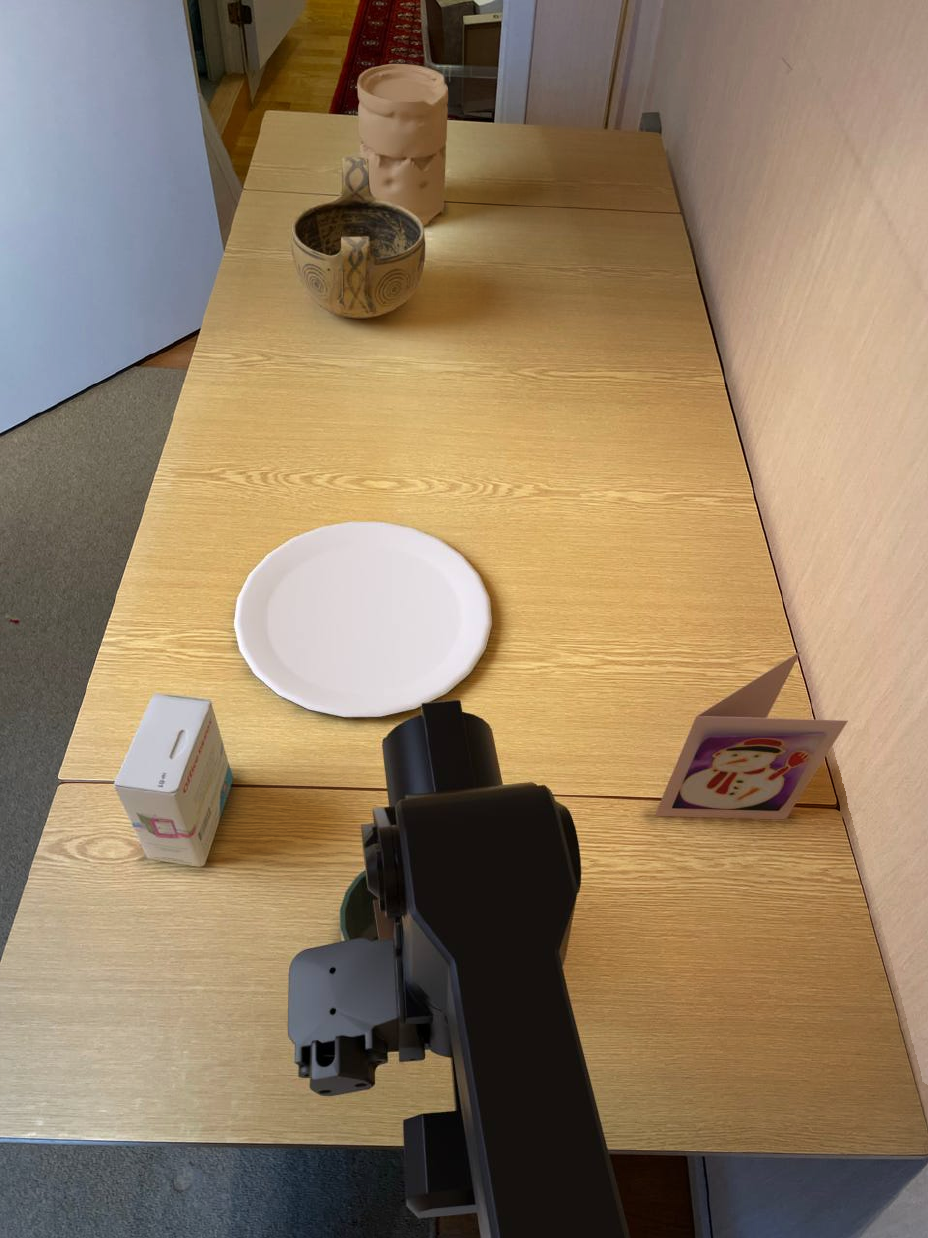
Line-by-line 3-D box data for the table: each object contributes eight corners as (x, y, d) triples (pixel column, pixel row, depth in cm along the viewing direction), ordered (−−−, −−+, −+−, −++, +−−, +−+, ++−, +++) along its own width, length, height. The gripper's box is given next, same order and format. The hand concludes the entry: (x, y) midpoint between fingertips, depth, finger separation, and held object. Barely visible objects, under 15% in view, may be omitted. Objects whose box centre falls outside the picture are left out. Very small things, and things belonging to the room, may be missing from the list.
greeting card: (656, 824, 83) (698, 726, 72) (645, 750, 88) (683, 646, 77) (788, 828, 84) (850, 730, 72) (770, 754, 89) (826, 651, 77)
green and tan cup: (468, 1000, 73) (472, 973, 69) (343, 1010, 72) (340, 983, 68) (457, 884, 79) (460, 853, 75) (342, 892, 78) (339, 860, 74)
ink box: (177, 769, 84) (151, 688, 75) (234, 778, 84) (215, 697, 75) (143, 860, 79) (110, 784, 70) (204, 869, 79) (179, 794, 69)
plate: (283, 761, 85) (282, 753, 84) (204, 566, 99) (202, 558, 98) (536, 672, 93) (537, 664, 92) (429, 503, 107) (429, 494, 106)
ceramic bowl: (299, 258, 138) (291, 151, 126) (420, 260, 139) (422, 154, 128) (293, 352, 124) (282, 241, 112) (427, 353, 125) (431, 243, 114)
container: (452, 195, 152) (458, 71, 138) (431, 234, 144) (435, 107, 130) (374, 182, 153) (372, 57, 140) (350, 220, 145) (345, 92, 132)
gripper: (294, 789, 51) (312, 912, 63) (285, 1196, 39) (310, 1253, 51) (504, 778, 52) (483, 901, 64) (558, 1170, 41) (520, 1232, 53)
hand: (448, 1054), depth 58 cm, fingers open, 9 cm apart
